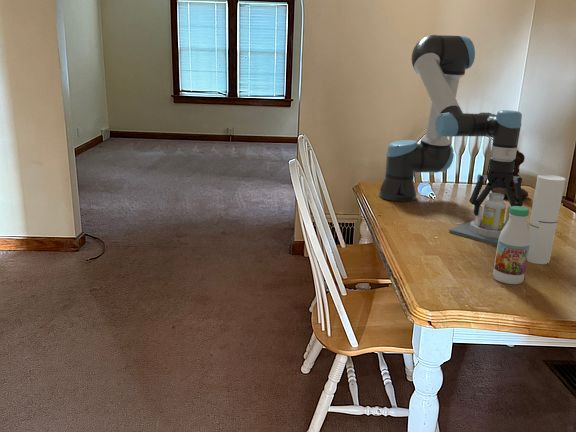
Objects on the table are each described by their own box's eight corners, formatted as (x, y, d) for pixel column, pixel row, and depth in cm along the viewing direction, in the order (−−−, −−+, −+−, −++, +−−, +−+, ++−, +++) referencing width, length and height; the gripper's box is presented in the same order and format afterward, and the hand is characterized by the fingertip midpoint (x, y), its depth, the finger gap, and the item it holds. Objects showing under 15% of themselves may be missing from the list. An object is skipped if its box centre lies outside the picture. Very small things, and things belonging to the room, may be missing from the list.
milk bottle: (487, 273, 145) (498, 203, 139) (514, 273, 145) (526, 203, 139) (500, 285, 137) (512, 212, 131) (528, 285, 138) (542, 212, 132)
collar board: (448, 232, 178) (450, 223, 177) (477, 221, 191) (478, 213, 190) (506, 248, 164) (507, 239, 163) (533, 235, 177) (534, 227, 176)
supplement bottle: (498, 228, 180) (504, 192, 176) (504, 234, 174) (510, 197, 170) (478, 227, 181) (484, 191, 177) (483, 233, 174) (489, 196, 171)
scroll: (487, 191, 235) (494, 146, 229) (521, 193, 233) (529, 148, 227) (495, 199, 221) (502, 152, 215) (531, 202, 219) (540, 154, 213)
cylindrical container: (547, 266, 151) (564, 181, 144) (521, 260, 155) (535, 177, 147) (550, 258, 157) (566, 176, 150) (525, 253, 161) (539, 173, 153)
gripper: (471, 160, 167) (462, 227, 173) (541, 163, 166) (530, 230, 173) (464, 155, 174) (456, 220, 180) (532, 158, 173) (521, 223, 180)
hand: (492, 225), depth 177 cm, fingers closed on collar board, 9 cm apart
